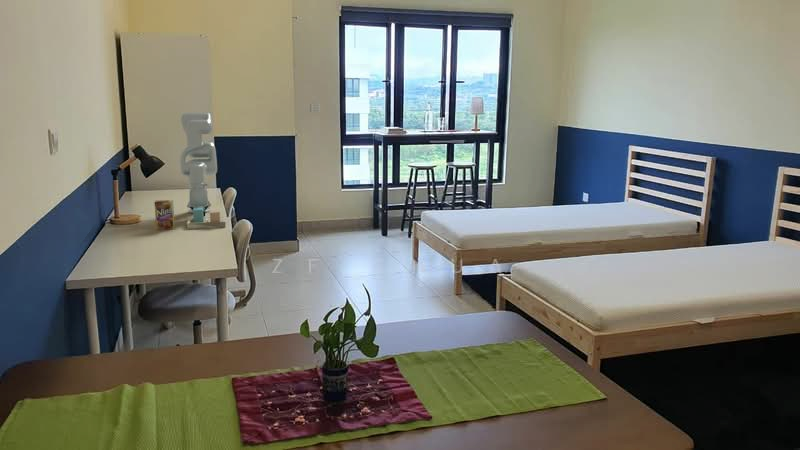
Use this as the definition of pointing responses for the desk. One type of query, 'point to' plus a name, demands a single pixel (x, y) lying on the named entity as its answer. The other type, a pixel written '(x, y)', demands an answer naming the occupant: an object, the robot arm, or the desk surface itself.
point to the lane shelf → (206, 224)
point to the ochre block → (215, 216)
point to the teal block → (198, 215)
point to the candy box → (164, 214)
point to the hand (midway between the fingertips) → (199, 217)
